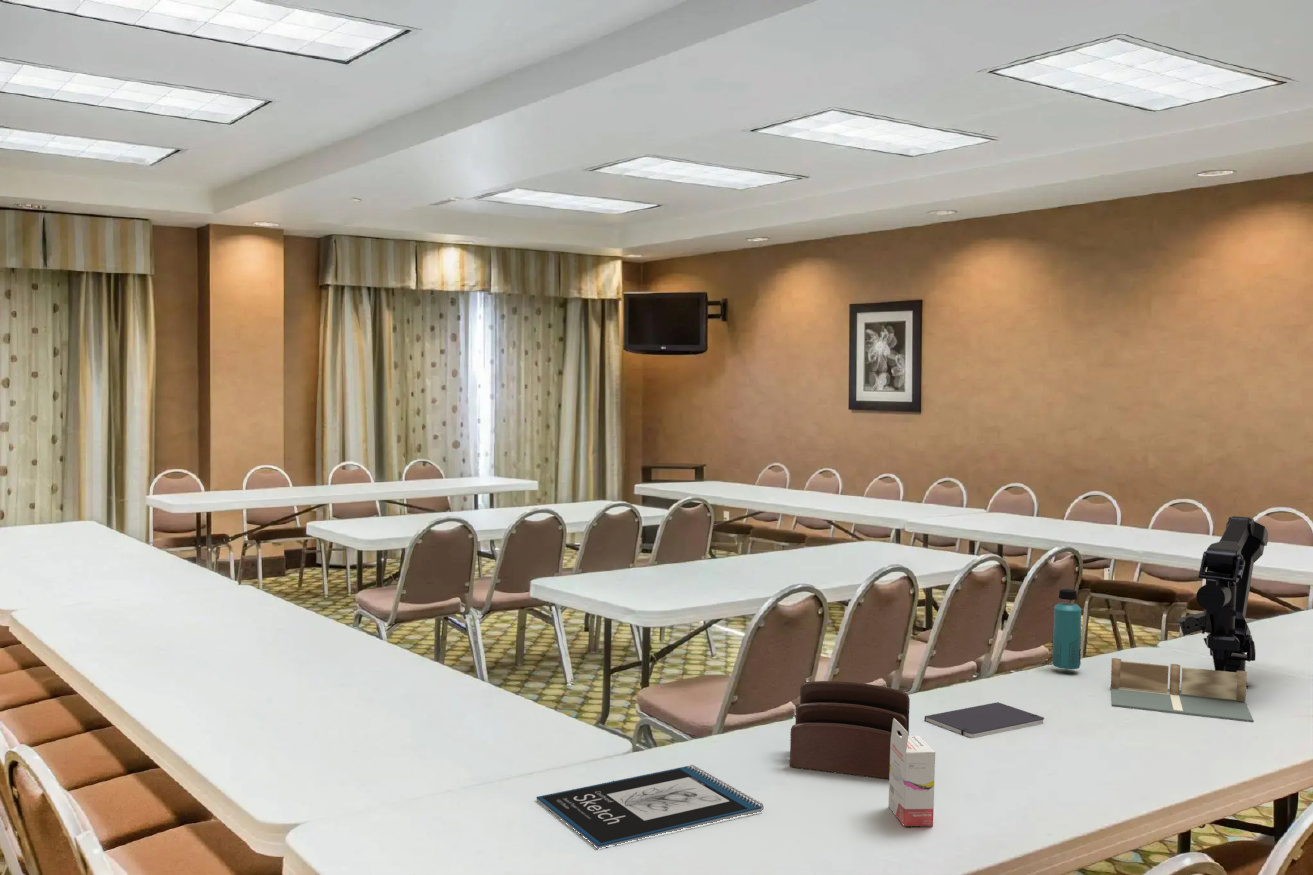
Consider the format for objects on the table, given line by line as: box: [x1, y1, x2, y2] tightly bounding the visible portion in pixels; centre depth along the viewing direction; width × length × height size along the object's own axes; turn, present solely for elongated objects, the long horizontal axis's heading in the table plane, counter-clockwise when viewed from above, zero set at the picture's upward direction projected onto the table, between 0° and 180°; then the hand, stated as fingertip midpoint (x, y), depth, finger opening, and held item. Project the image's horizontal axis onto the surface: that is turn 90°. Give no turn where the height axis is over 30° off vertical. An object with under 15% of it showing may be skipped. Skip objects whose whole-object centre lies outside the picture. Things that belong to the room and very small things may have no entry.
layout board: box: [1110, 687, 1255, 723], centre depth 241 cm, size 19×27×1 cm
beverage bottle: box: [1051, 588, 1082, 670], centre depth 265 cm, size 6×7×20 cm
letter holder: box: [789, 680, 911, 780], centre depth 197 cm, size 10×20×14 cm, turn 72°
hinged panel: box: [1180, 666, 1248, 702], centre depth 243 cm, size 13×2×6 cm, turn 68°
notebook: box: [923, 701, 1045, 739], centre depth 225 cm, size 13×2×21 cm
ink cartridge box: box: [888, 718, 936, 828], centre depth 174 cm, size 9×5×15 cm, turn 5°
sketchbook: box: [536, 764, 765, 850], centre depth 177 cm, size 22×30×2 cm
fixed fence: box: [1110, 657, 1181, 695], centre depth 248 cm, size 2×14×7 cm, turn 68°
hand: (1218, 673), depth 247 cm, fingers closed
